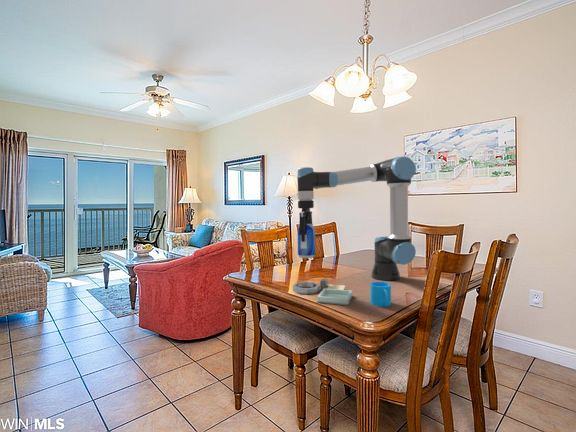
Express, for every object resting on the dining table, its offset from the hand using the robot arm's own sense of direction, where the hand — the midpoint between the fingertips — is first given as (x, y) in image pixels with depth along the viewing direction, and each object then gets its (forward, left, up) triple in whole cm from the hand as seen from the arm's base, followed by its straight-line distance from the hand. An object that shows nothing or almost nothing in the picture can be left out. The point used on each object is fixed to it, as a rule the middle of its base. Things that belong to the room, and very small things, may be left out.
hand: (306, 246), depth 151 cm
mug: (-36, +12, -22) cm, 43 cm away
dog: (-8, -2, -21) cm, 23 cm away
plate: (-14, -2, -22) cm, 26 cm away
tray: (-16, +10, -21) cm, 28 cm away
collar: (0, 0, -21) cm, 21 cm away
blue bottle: (0, 0, -5) cm, 5 cm away
